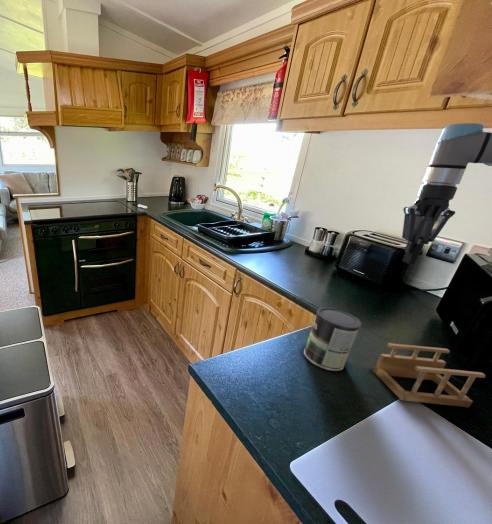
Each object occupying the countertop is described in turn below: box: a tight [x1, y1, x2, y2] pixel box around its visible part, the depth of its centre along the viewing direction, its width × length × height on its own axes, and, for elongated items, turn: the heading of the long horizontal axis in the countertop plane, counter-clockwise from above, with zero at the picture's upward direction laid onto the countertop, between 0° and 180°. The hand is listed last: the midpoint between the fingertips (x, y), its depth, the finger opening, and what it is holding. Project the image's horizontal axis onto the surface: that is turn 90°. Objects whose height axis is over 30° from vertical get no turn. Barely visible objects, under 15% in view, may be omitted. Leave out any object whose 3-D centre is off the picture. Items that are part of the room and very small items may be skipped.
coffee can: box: [303, 306, 362, 372], centre depth 81 cm, size 10×10×14 cm
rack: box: [372, 342, 486, 408], centre depth 73 cm, size 10×16×10 cm, turn 86°
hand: (408, 262), depth 89 cm, fingers closed
